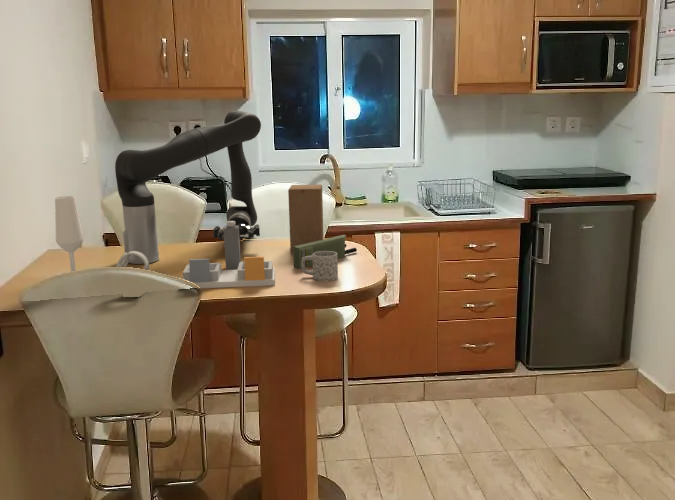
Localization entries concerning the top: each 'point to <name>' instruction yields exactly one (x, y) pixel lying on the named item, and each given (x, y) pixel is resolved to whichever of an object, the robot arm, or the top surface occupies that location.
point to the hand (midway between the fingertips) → (235, 236)
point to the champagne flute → (68, 226)
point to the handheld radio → (320, 249)
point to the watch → (126, 257)
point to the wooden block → (305, 214)
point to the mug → (322, 265)
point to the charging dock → (230, 273)
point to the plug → (232, 245)
